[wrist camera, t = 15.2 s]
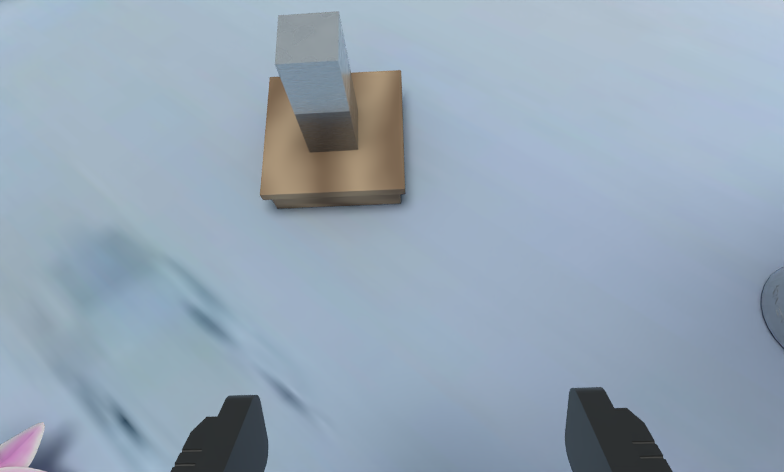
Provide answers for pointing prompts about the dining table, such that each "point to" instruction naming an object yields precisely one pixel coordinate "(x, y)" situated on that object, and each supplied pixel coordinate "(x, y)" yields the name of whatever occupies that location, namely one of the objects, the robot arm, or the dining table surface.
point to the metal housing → (318, 79)
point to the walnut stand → (337, 168)
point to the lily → (21, 450)
